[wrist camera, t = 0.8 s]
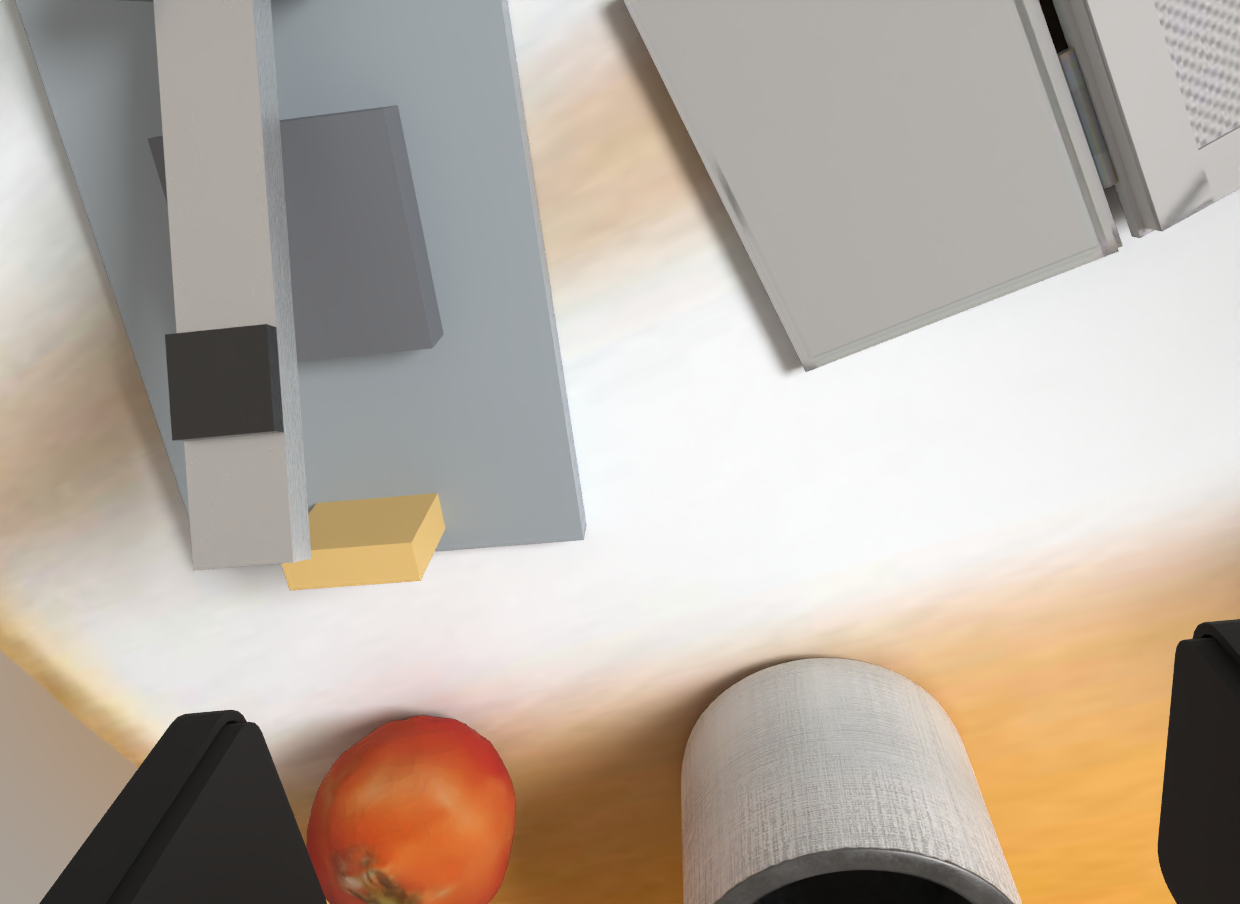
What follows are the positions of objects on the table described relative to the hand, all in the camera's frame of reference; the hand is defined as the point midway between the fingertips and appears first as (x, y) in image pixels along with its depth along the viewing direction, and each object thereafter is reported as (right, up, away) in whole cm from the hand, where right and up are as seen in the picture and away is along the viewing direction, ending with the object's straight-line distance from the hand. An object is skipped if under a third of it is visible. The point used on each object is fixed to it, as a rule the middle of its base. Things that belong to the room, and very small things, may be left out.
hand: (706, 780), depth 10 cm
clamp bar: (-12, +10, +19) cm, 24 cm away
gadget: (+13, +18, +22) cm, 31 cm away
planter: (+8, -11, +34) cm, 37 cm away
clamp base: (-12, +11, +25) cm, 30 cm away
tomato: (-10, -11, +35) cm, 38 cm away
